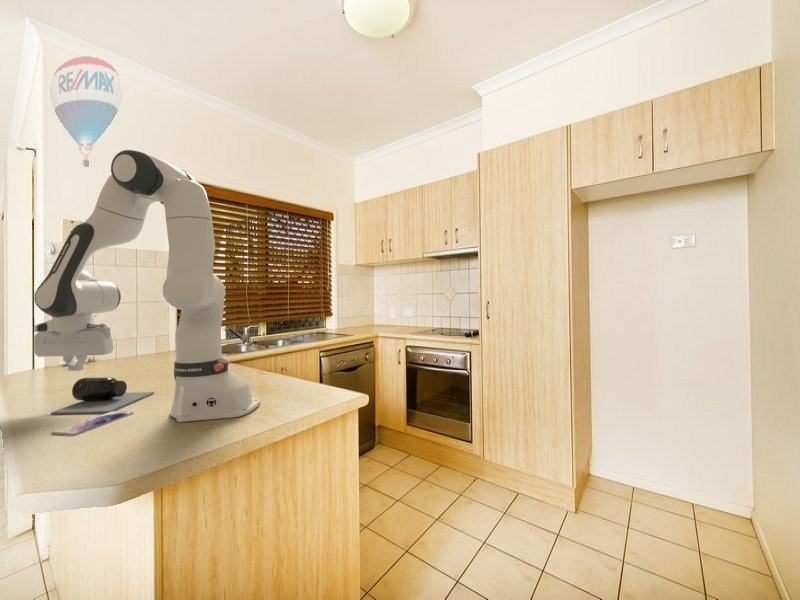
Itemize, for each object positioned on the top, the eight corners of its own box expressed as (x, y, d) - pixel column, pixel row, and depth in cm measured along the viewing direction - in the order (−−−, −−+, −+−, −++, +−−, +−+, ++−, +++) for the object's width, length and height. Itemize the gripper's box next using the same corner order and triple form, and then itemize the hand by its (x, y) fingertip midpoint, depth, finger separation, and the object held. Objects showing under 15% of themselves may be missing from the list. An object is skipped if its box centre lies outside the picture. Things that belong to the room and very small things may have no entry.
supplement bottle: (94, 382, 108) (133, 382, 109) (83, 403, 104) (123, 403, 105) (79, 373, 103) (119, 374, 103) (66, 395, 99) (108, 395, 99)
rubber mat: (154, 393, 112) (154, 392, 112) (109, 413, 94) (109, 411, 94) (105, 394, 111) (105, 393, 111) (51, 414, 93) (51, 412, 93)
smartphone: (134, 412, 93) (74, 434, 79) (134, 415, 93) (74, 438, 79) (113, 410, 95) (49, 432, 80) (113, 413, 95) (49, 435, 80)
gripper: (117, 322, 105) (119, 367, 105) (49, 324, 104) (51, 369, 105) (100, 324, 99) (102, 371, 99) (27, 326, 98) (29, 374, 98)
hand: (75, 370), depth 102 cm, fingers closed
